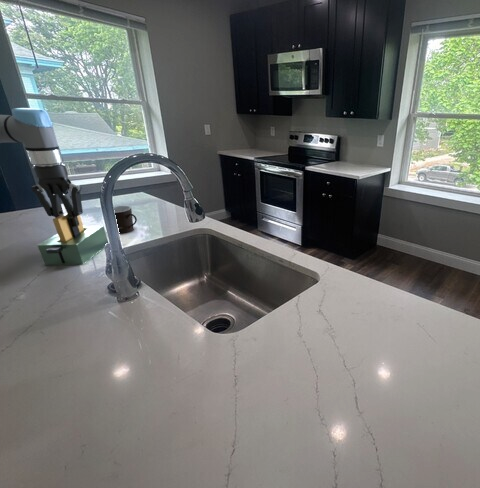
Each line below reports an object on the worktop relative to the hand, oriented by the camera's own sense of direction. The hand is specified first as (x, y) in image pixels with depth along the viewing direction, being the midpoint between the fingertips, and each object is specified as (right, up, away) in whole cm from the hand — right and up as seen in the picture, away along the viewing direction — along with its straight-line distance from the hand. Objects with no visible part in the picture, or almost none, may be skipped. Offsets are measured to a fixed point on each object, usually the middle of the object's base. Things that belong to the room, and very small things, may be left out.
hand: (72, 235), depth 100 cm
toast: (0, -3, +1) cm, 3 cm away
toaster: (0, -7, +3) cm, 8 cm away
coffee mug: (+3, +1, +22) cm, 22 cm away
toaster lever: (+1, -5, -8) cm, 10 cm away
